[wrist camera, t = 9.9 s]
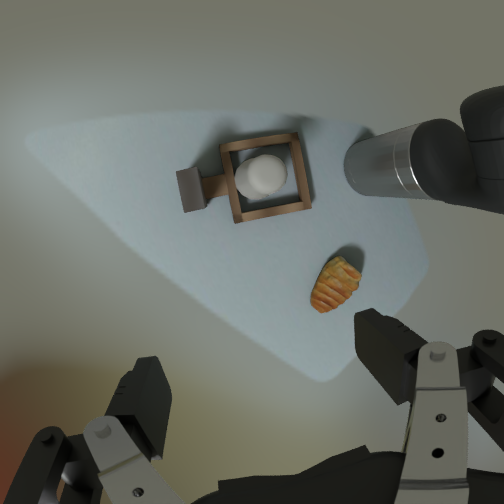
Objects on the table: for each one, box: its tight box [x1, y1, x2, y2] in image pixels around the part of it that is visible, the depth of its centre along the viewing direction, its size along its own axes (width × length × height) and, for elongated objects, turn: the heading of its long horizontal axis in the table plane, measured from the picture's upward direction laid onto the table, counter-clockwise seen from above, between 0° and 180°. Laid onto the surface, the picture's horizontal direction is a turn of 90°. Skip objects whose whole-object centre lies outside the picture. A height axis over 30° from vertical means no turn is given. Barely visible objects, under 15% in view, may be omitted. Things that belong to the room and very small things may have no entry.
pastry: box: [310, 256, 362, 313], centre depth 44 cm, size 9×7×4 cm
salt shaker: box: [234, 154, 288, 199], centre depth 35 cm, size 6×6×13 cm
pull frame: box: [176, 132, 312, 224], centre depth 37 cm, size 17×11×8 cm, turn 101°
